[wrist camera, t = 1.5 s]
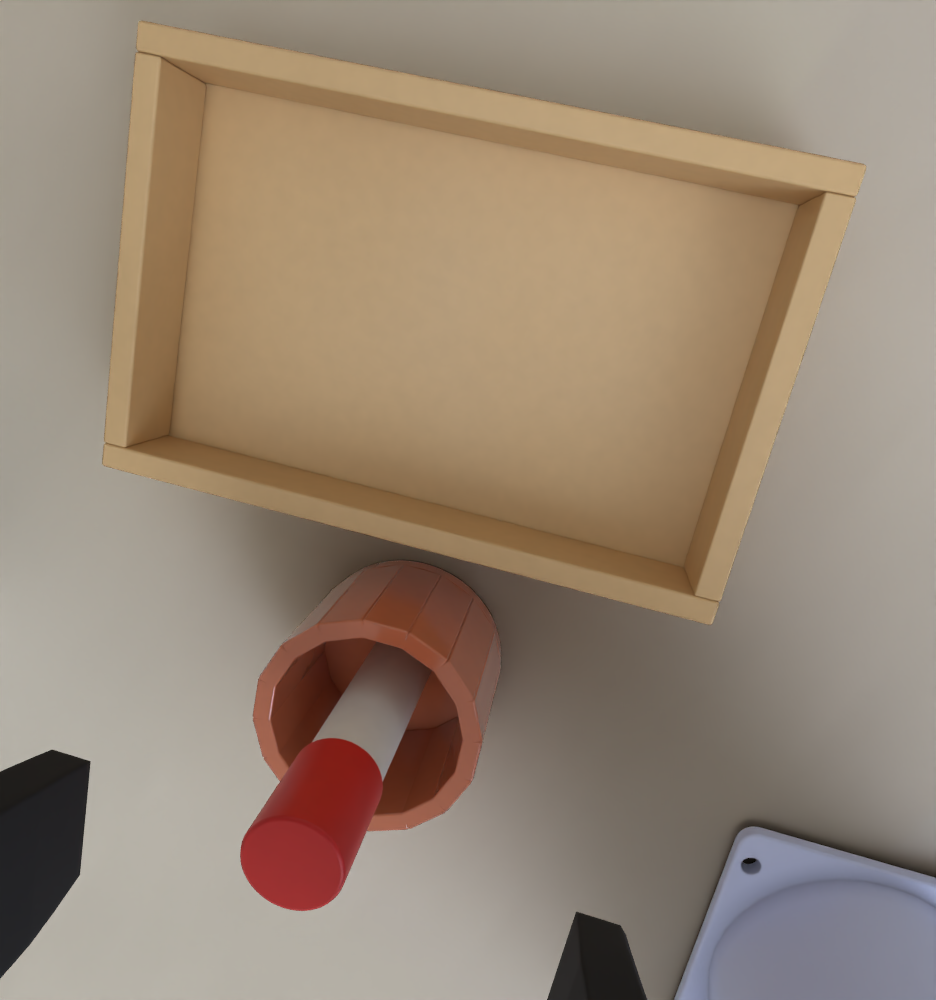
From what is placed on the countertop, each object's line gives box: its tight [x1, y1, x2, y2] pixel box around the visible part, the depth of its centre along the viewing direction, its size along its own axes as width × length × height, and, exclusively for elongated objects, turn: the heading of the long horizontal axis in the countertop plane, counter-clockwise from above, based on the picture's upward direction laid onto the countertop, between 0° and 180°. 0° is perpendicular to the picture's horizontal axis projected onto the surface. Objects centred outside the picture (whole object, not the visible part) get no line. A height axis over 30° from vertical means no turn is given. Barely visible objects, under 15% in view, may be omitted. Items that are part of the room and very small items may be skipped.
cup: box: [253, 560, 501, 831], centre depth 19 cm, size 5×5×4 cm
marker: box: [240, 642, 432, 911], centre depth 16 cm, size 2×2×8 cm
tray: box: [102, 21, 866, 625], centre depth 17 cm, size 10×15×2 cm, turn 78°
